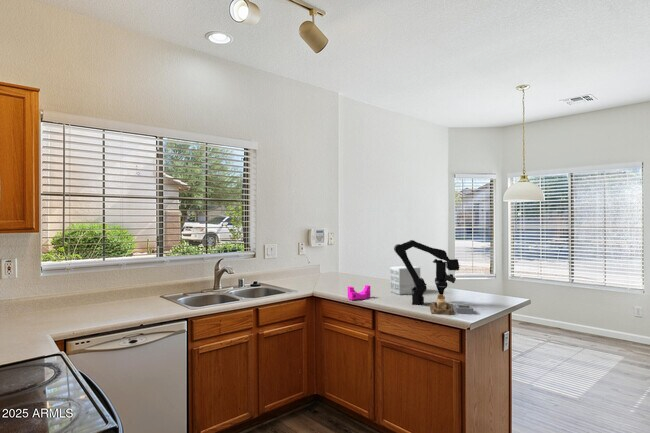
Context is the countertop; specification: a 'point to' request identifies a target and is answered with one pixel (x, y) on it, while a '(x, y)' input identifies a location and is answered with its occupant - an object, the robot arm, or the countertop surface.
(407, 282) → the white drawer cabinet
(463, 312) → the tail socket
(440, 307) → the fuselage
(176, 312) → the countertop surface
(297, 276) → the countertop surface
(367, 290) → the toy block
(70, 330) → the countertop surface
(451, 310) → the jig
